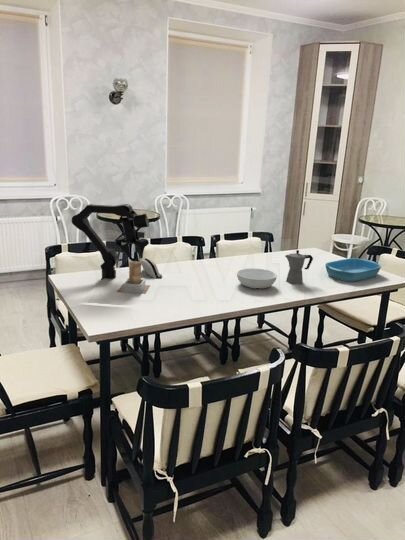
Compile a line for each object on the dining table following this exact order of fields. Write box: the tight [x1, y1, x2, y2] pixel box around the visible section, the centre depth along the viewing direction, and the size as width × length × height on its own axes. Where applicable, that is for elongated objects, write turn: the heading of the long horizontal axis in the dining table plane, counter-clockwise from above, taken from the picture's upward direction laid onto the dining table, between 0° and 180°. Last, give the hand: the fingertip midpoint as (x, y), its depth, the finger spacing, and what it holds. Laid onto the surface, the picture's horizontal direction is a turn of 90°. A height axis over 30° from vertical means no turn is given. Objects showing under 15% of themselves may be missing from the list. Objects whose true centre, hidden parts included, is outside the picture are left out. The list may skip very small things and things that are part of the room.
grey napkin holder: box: [140, 257, 164, 279], centre depth 245 cm, size 17×5×10 cm, turn 28°
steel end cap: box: [123, 278, 146, 295], centre depth 215 cm, size 8×8×4 cm
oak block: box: [128, 260, 142, 284], centre depth 214 cm, size 4×4×13 cm
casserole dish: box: [324, 257, 382, 283], centre depth 262 cm, size 37×22×7 cm, turn 126°
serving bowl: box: [236, 267, 278, 289], centre depth 234 cm, size 21×21×7 cm
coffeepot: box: [284, 249, 314, 285], centre depth 243 cm, size 15×9×18 cm, turn 92°
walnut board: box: [116, 283, 151, 295], centre depth 218 cm, size 14×13×1 cm
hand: (135, 257), depth 231 cm, fingers open, 9 cm apart
